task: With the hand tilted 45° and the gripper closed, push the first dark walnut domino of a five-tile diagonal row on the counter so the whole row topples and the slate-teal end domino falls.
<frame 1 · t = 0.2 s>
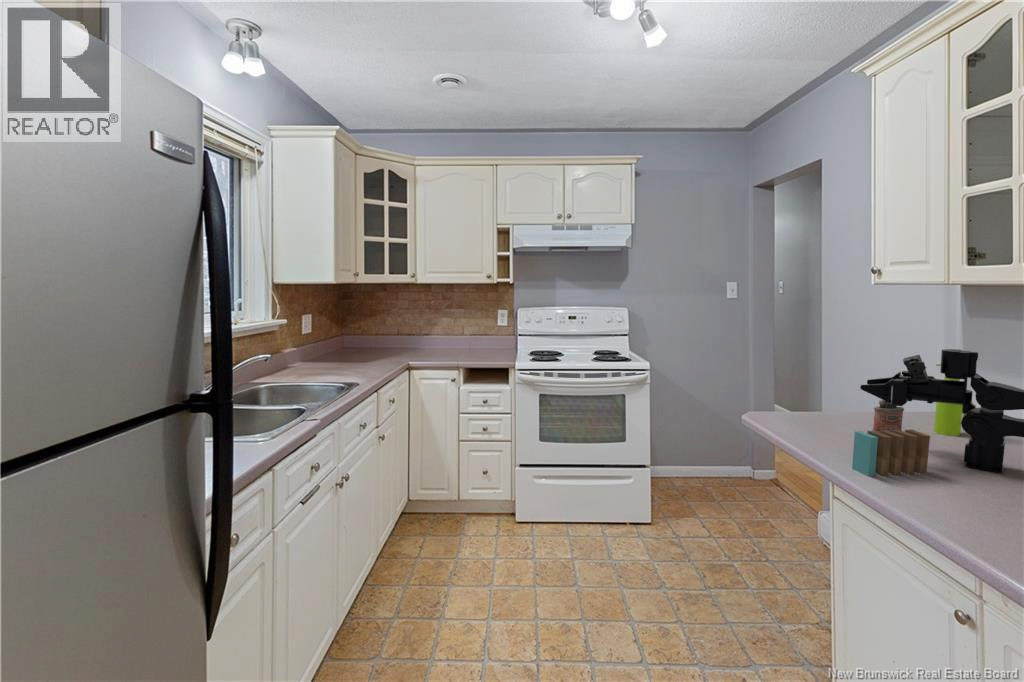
hand: (863, 384, 141), 17 cm above the worktop, tool horizontal, fingers open, 9 cm apart
domino 1: (913, 470, 124), on the worktop
red tin can: (886, 433, 154), on the worktop
domino 4: (876, 471, 123), on the worktop
domino 2: (901, 470, 124), on the worktop
domino 5: (863, 472, 123), on the worktop
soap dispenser: (944, 433, 155), on the worktop
domino 3: (888, 471, 124), on the worktop
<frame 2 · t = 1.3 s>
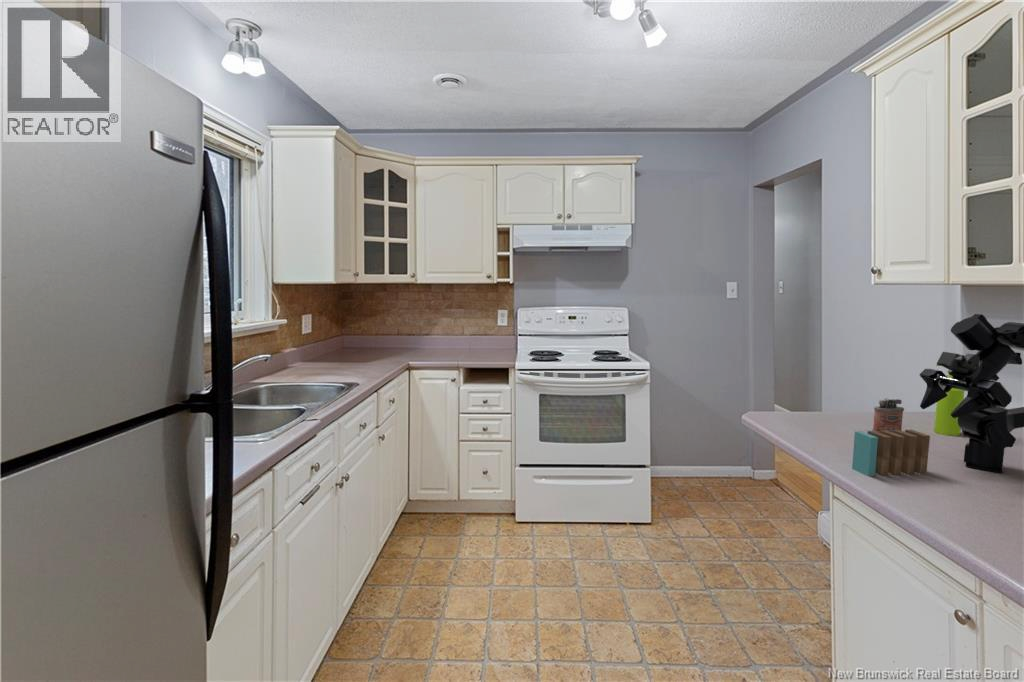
hand: (936, 412, 124), 14 cm above the worktop, tool tilted 45°, fingers open, 8 cm apart
nothing on the worktop moved.
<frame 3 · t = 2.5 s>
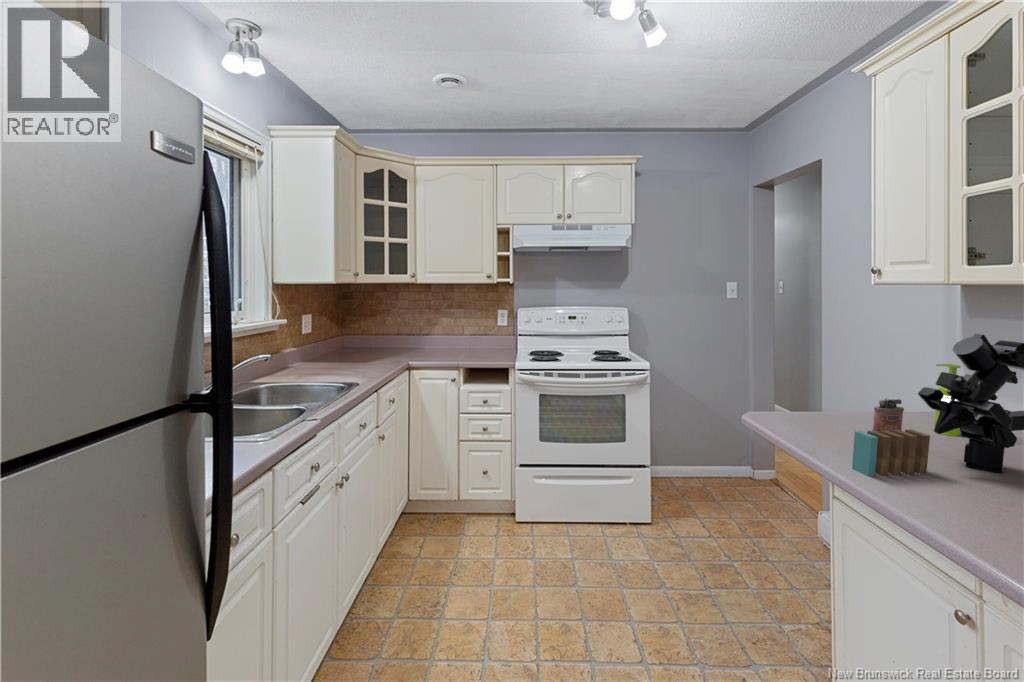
hand: (936, 432, 124), 9 cm above the worktop, tool tilted 45°, fingers closed
nothing on the worktop moved.
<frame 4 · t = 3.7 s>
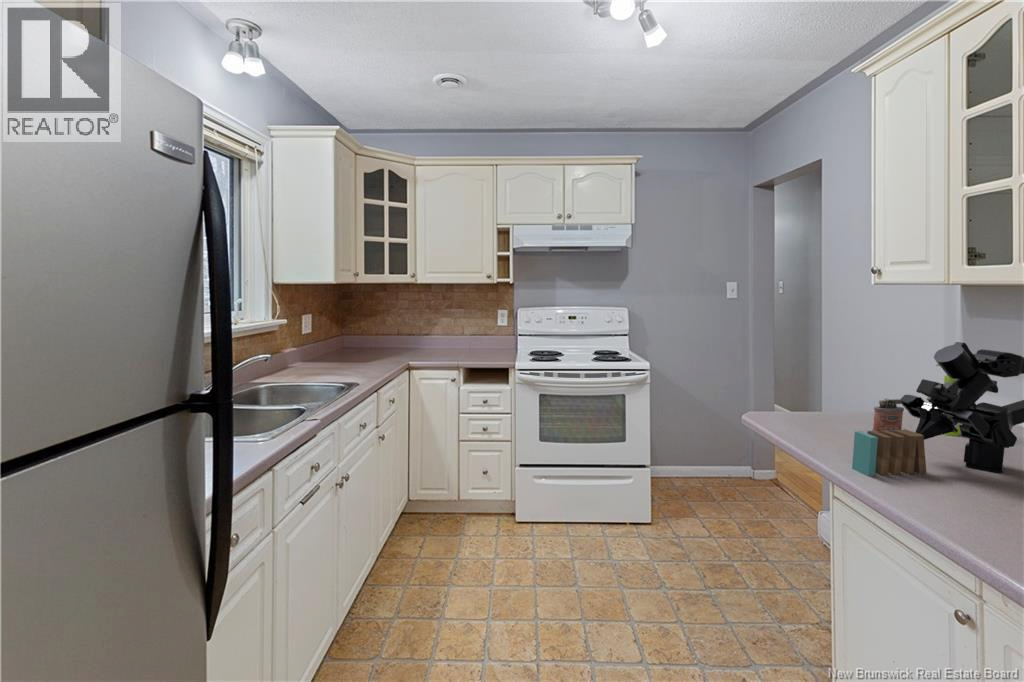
hand: (915, 439, 124), 7 cm above the worktop, tool tilted 45°, fingers closed
domino 1: (913, 469, 124), on the worktop, tilted 10°
everything else where it was.
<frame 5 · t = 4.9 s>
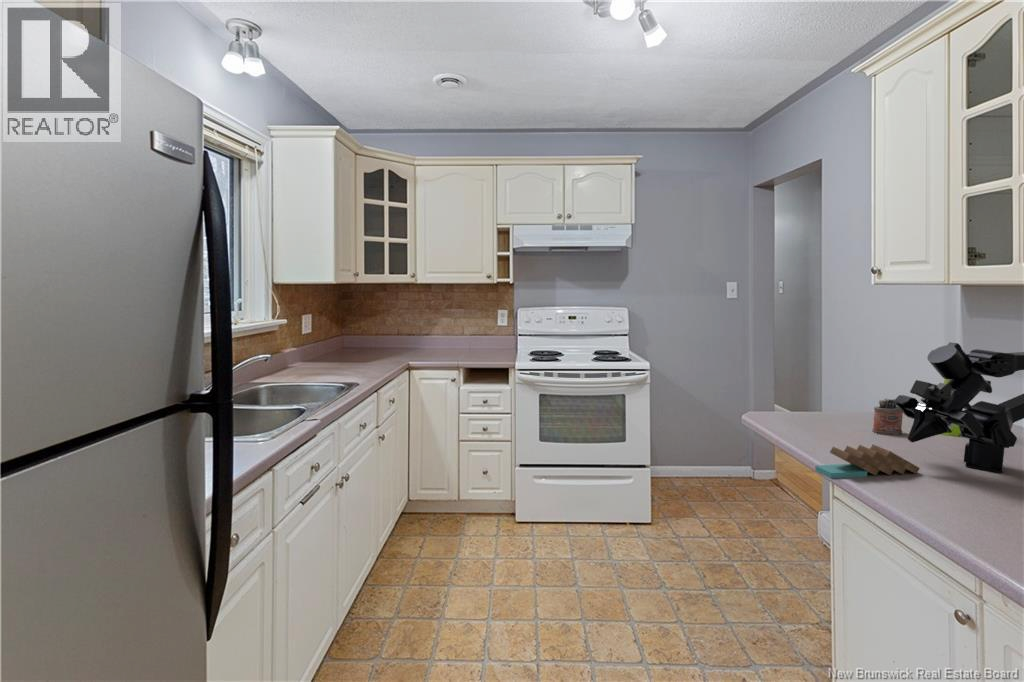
hand: (909, 440, 123), 7 cm above the worktop, tool tilted 45°, fingers closed
domino 1: (908, 467, 124), point 1 cm above the worktop, tilted 61°, touching domino 2
domino 4: (869, 468, 123), point 1 cm above the worktop, tilted 62°, touching domino 3
domino 2: (895, 467, 124), point 1 cm above the worktop, tilted 61°, touching domino 1, domino 3
domino 5: (858, 470, 123), on the worktop, tilted 90°
domino 3: (883, 468, 123), point 1 cm above the worktop, tilted 61°, touching domino 2, domino 4
everything else where it was.
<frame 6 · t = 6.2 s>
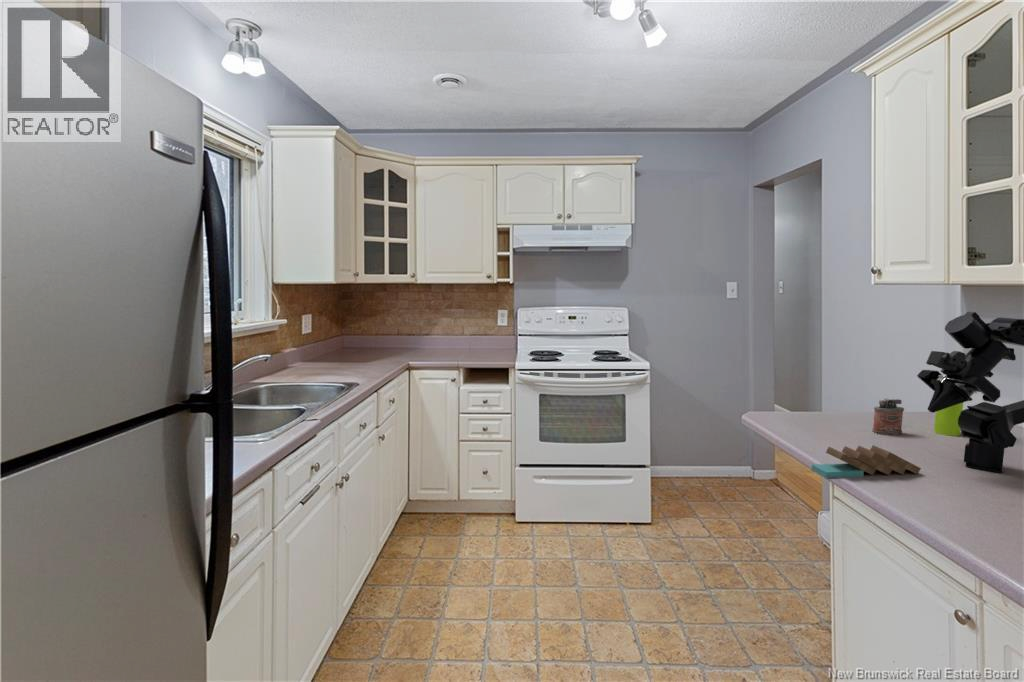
hand: (930, 411, 125), 14 cm above the worktop, tool tilted 40°, fingers closed
domino 4: (866, 468, 123), point 1 cm above the worktop, tilted 64°, touching domino 3
domino 2: (896, 467, 124), point 1 cm above the worktop, tilted 63°, touching domino 1, domino 3
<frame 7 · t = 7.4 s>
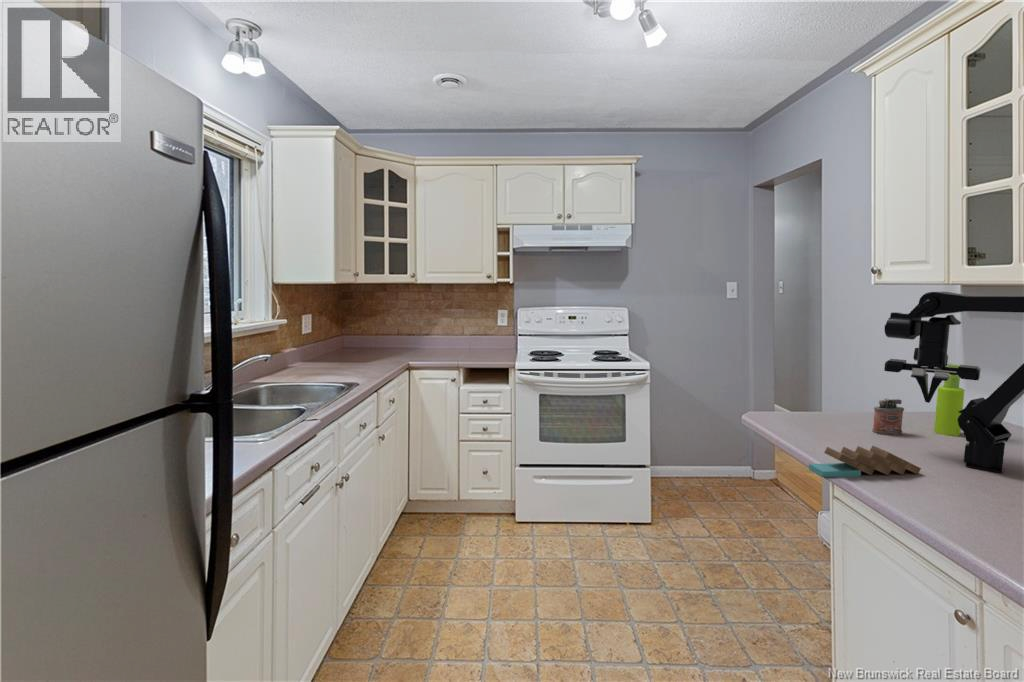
hand: (927, 402, 136), 13 cm above the worktop, tool pointing down, fingers closed
domino 4: (865, 468, 124), point 1 cm above the worktop, tilted 65°, touching domino 3, domino 5
domino 5: (853, 470, 123), point 1 cm above the worktop, tilted 90°, touching domino 4
everything else where it was.
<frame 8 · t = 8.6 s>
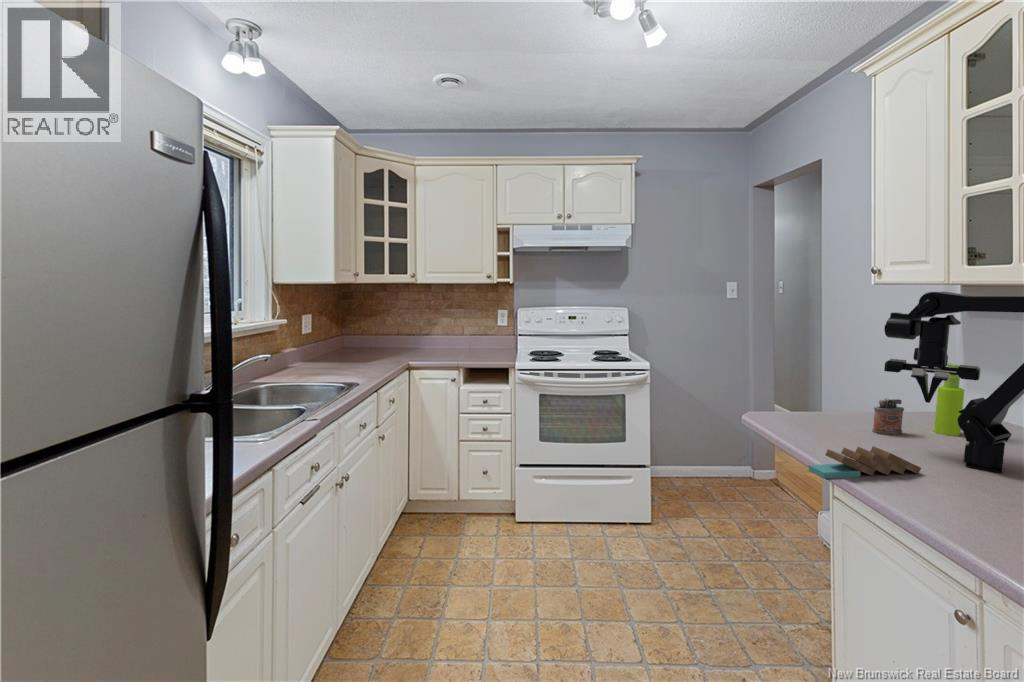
hand: (927, 402, 136), 13 cm above the worktop, tool pointing down, fingers closed
at the end: domino 1 tilted 65°; domino 5 tilted 90° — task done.
